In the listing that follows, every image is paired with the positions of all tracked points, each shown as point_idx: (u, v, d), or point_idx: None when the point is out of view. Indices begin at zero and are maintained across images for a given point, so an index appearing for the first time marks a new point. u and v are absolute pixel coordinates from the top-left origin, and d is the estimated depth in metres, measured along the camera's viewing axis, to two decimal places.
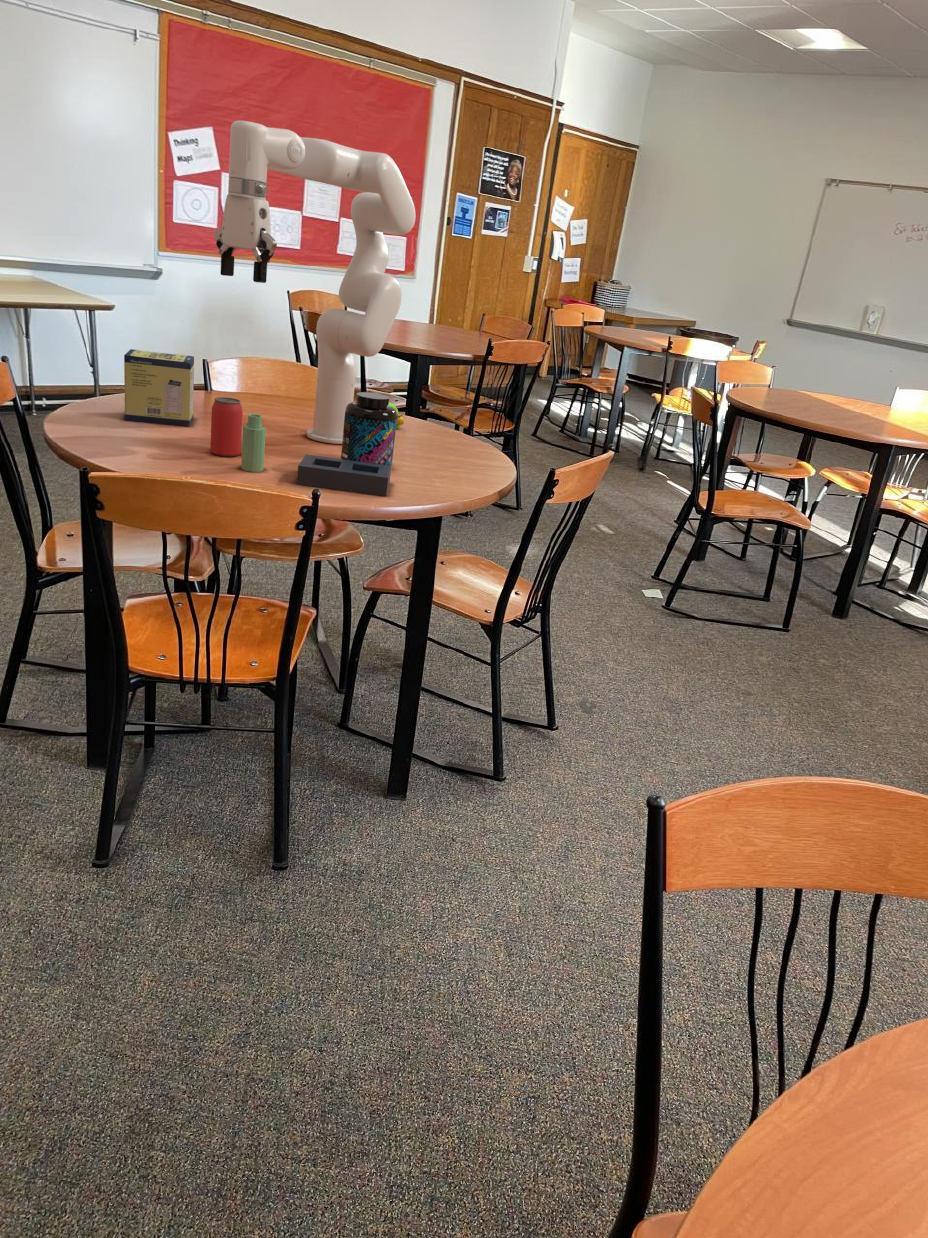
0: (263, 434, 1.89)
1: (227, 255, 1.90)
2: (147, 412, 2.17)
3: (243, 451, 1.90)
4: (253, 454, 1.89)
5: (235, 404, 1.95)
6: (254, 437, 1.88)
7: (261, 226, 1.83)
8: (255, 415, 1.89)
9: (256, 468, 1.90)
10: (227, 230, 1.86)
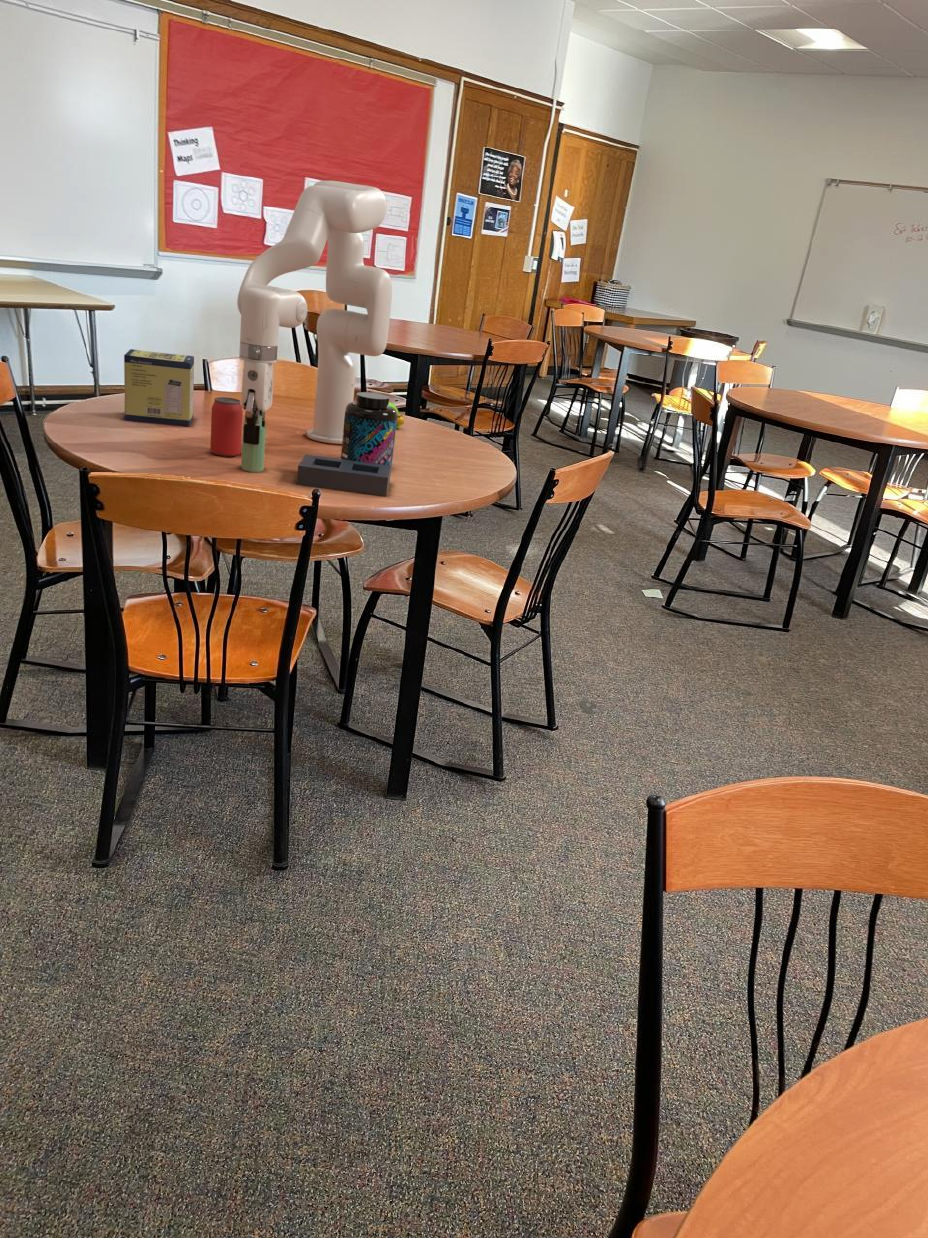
0: (263, 434, 1.89)
1: None
2: (147, 412, 2.17)
3: (243, 451, 1.90)
4: (253, 454, 1.89)
5: (235, 404, 1.95)
6: None
7: (249, 387, 1.81)
8: (255, 415, 1.89)
9: (256, 468, 1.90)
10: None
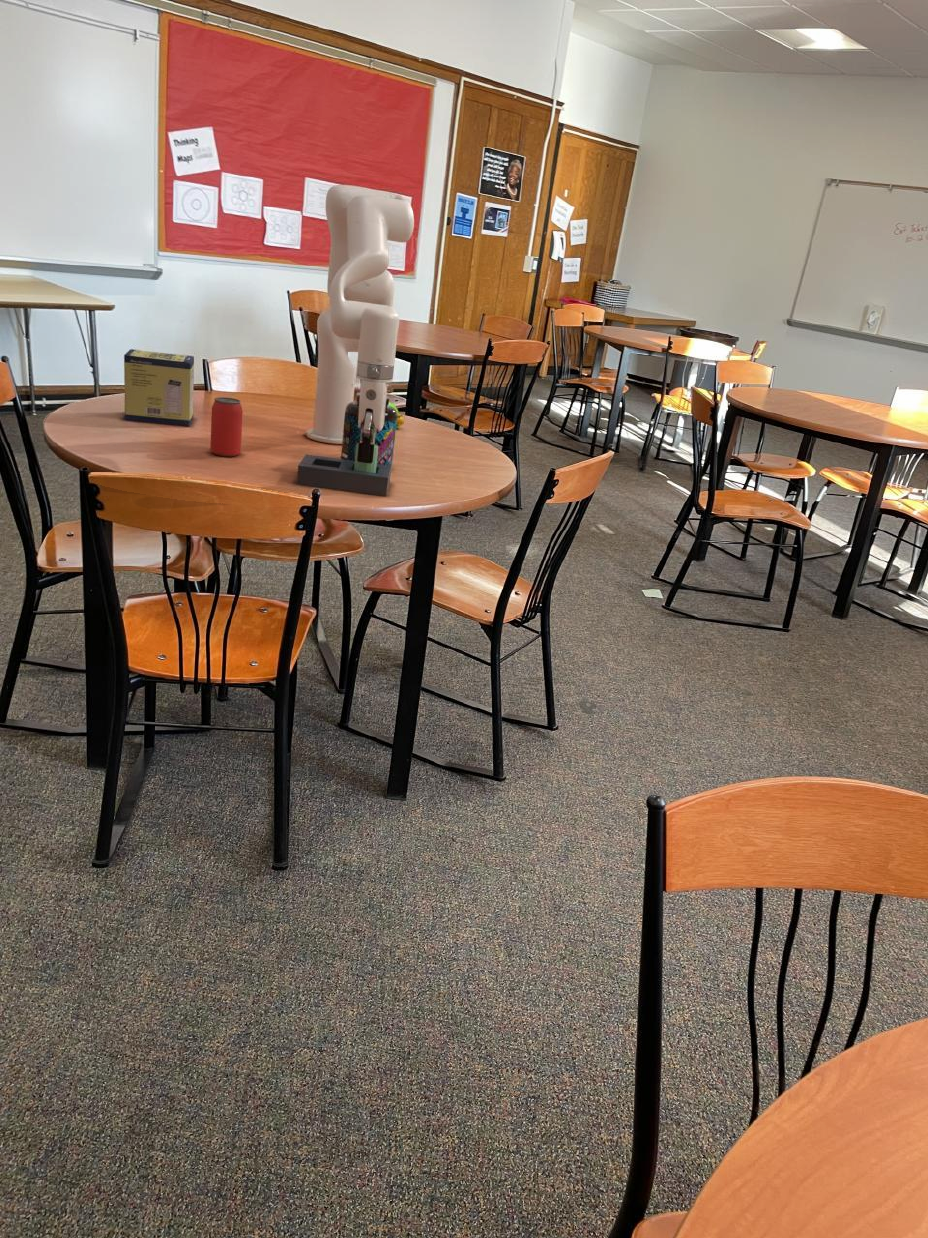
0: (376, 452, 1.88)
1: None
2: (147, 412, 2.17)
3: (356, 469, 1.89)
4: None
5: (235, 404, 1.95)
6: None
7: (367, 407, 1.81)
8: None
9: None
10: None
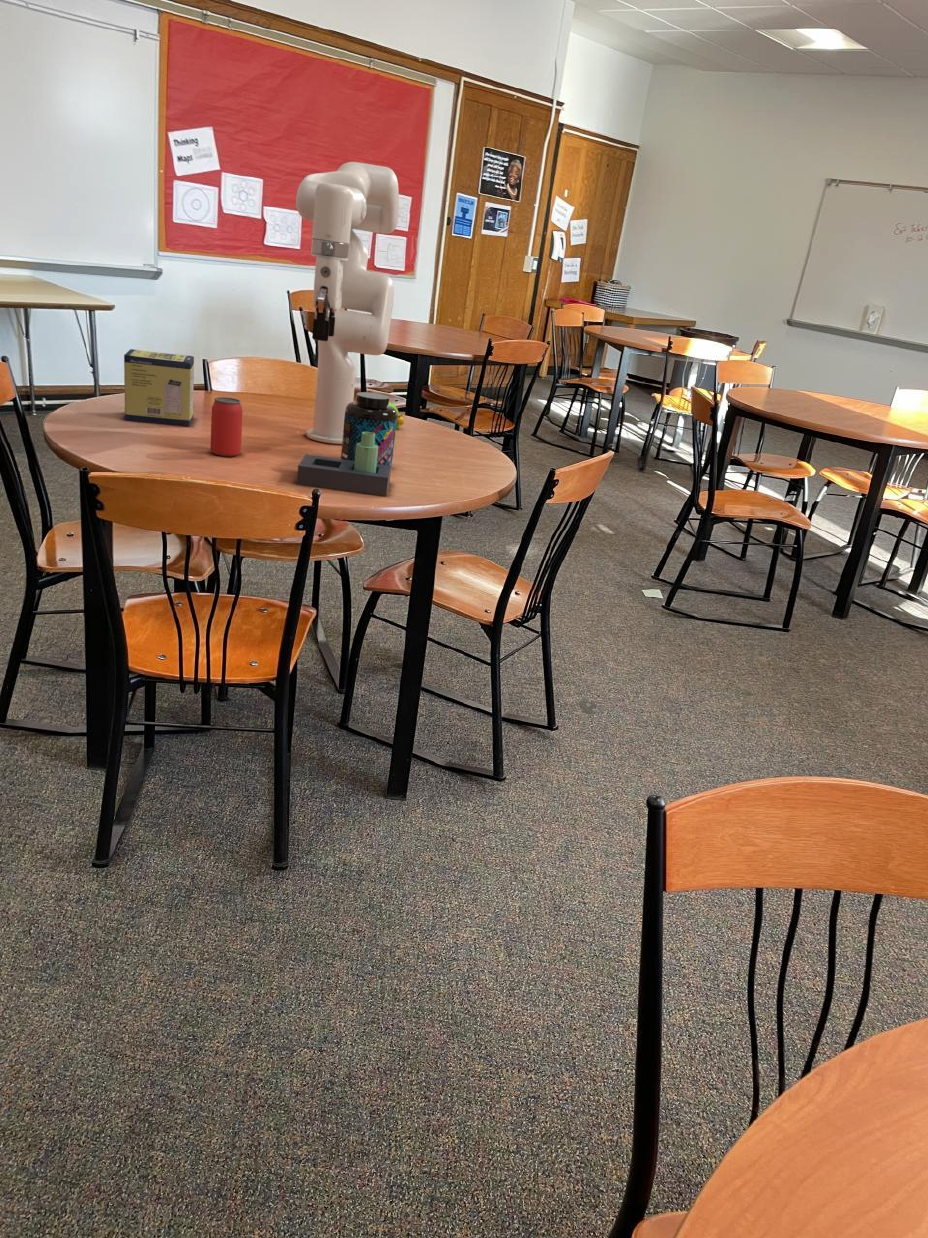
0: (376, 452, 1.88)
1: None
2: (147, 412, 2.17)
3: (356, 469, 1.89)
4: None
5: (235, 404, 1.95)
6: (367, 455, 1.87)
7: (322, 284, 1.80)
8: (368, 433, 1.89)
9: None
10: None
